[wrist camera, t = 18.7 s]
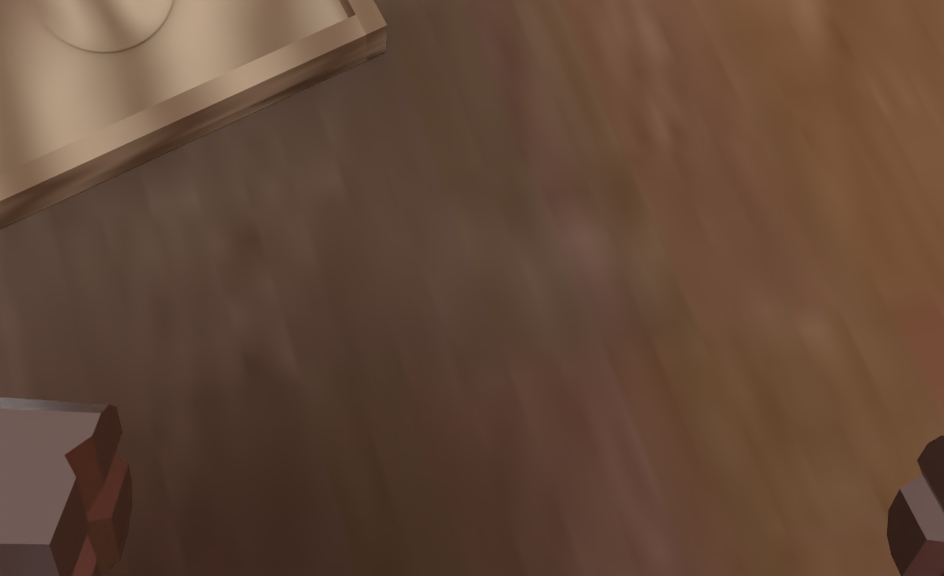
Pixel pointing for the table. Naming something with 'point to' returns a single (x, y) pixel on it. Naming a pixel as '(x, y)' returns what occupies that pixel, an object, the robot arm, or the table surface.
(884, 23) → the table surface
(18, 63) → the tray
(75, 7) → the beer glass
